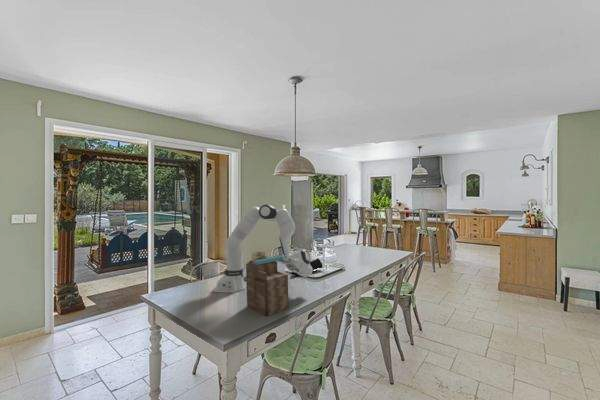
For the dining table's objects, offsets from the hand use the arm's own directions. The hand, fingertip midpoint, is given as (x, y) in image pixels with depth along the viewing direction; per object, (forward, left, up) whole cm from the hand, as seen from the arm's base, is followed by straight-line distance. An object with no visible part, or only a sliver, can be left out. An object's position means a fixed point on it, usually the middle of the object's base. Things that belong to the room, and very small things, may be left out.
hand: (279, 257), depth 180 cm
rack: (-7, -9, -28) cm, 30 cm away
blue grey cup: (-23, +60, -28) cm, 70 cm away
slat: (-5, -4, -1) cm, 7 cm away
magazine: (+21, +62, -28) cm, 72 cm away
